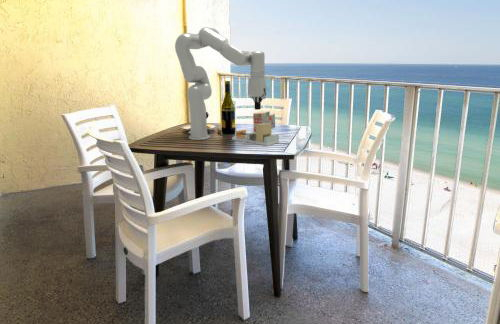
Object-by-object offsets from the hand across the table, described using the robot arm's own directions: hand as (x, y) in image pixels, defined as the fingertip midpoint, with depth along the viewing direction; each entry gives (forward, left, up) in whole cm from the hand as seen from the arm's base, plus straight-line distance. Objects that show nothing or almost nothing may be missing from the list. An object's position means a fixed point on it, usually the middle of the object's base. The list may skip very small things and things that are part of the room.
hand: (257, 109), depth 207 cm
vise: (-3, 0, -18) cm, 18 cm away
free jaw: (-8, 0, -17) cm, 18 cm away
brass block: (+4, 0, -17) cm, 17 cm away
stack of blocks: (-24, +32, -19) cm, 44 cm away
